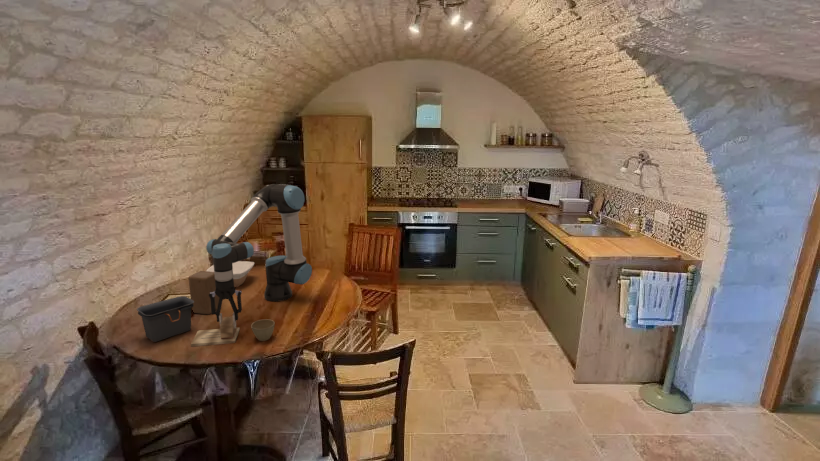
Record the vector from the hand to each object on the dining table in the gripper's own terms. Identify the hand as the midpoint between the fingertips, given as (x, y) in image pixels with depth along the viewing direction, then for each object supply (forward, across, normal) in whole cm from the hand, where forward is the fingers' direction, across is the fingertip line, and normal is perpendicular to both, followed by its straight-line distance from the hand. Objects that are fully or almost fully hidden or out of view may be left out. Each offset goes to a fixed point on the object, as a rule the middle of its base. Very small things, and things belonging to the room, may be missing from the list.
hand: (228, 327), depth 196 cm
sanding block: (+3, 0, 0) cm, 3 cm away
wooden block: (+5, +16, -32) cm, 37 cm away
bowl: (+5, +10, -72) cm, 72 cm away
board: (+5, +6, 0) cm, 7 cm away
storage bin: (+5, +26, -8) cm, 28 cm away
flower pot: (+5, -16, +4) cm, 17 cm away
